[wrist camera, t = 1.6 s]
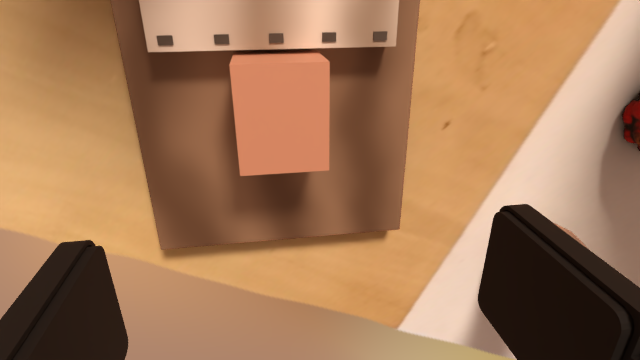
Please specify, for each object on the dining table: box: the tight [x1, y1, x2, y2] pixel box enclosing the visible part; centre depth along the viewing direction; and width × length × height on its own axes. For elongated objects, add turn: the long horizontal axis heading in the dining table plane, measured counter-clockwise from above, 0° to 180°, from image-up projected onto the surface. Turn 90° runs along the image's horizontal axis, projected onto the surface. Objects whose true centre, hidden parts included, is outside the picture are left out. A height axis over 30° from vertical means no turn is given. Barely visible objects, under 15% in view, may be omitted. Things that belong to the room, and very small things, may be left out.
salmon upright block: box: [229, 50, 330, 176], centre depth 24 cm, size 5×6×5 cm
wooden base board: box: [111, 0, 420, 250], centre depth 25 cm, size 18×24×4 cm
